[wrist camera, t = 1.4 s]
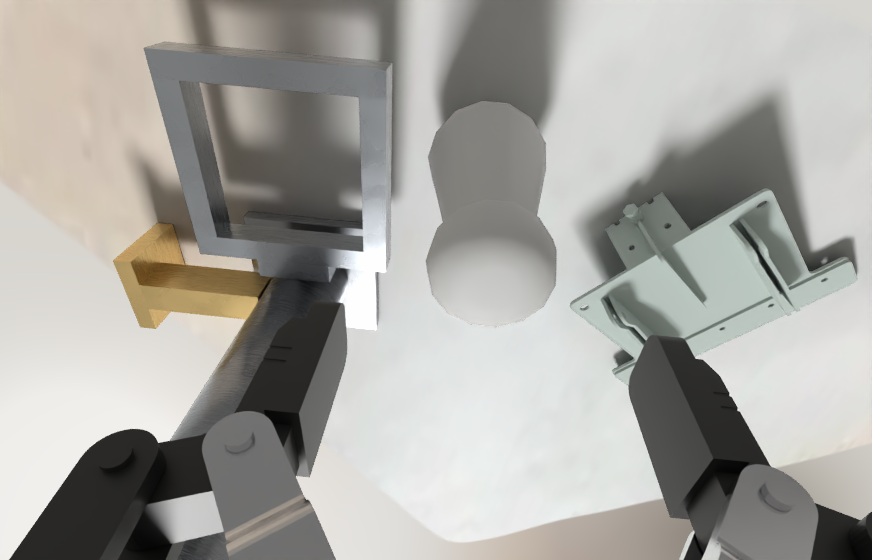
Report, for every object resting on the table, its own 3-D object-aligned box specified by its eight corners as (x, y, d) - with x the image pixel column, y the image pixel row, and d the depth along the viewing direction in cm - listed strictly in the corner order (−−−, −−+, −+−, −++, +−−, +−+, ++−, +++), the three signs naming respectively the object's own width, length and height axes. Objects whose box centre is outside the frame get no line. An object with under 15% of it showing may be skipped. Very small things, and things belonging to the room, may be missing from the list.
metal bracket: (540, 343, 26) (842, 173, 19) (515, 268, 29) (759, 104, 23) (646, 411, 34) (881, 310, 27) (616, 346, 38) (815, 243, 31)
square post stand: (400, 52, 23) (95, 440, 5) (394, 324, 33) (292, 766, 15) (92, 24, 23) (-1244, 288, 5) (183, 302, 33) (-159, 707, 16)
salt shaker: (454, 207, 27) (437, 370, 17) (416, 113, 24) (366, 240, 14) (553, 175, 26) (603, 333, 15) (525, 71, 23) (563, 178, 12)
